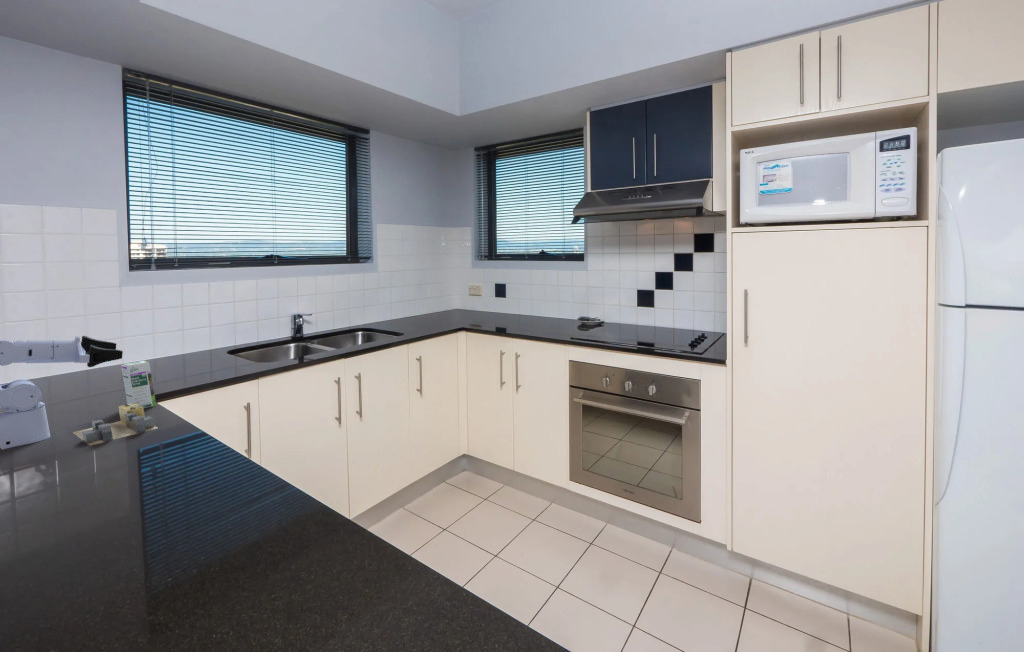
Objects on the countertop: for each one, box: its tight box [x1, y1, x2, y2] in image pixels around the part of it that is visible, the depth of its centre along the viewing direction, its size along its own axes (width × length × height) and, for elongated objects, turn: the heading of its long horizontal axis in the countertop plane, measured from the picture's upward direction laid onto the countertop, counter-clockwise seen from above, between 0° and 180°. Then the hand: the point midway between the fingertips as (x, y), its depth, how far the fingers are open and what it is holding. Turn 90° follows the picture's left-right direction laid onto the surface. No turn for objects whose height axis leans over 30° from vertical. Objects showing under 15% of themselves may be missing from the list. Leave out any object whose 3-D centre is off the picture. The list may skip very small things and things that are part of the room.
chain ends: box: [82, 412, 155, 444], centre depth 126 cm, size 14×9×4 cm, turn 141°
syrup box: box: [120, 360, 157, 409], centre depth 150 cm, size 6×6×14 cm
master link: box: [117, 403, 146, 424], centre depth 135 cm, size 4×8×4 cm, turn 51°
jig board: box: [71, 420, 158, 446], centre depth 129 cm, size 14×18×1 cm
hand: (119, 350), depth 137 cm, fingers open, 7 cm apart
